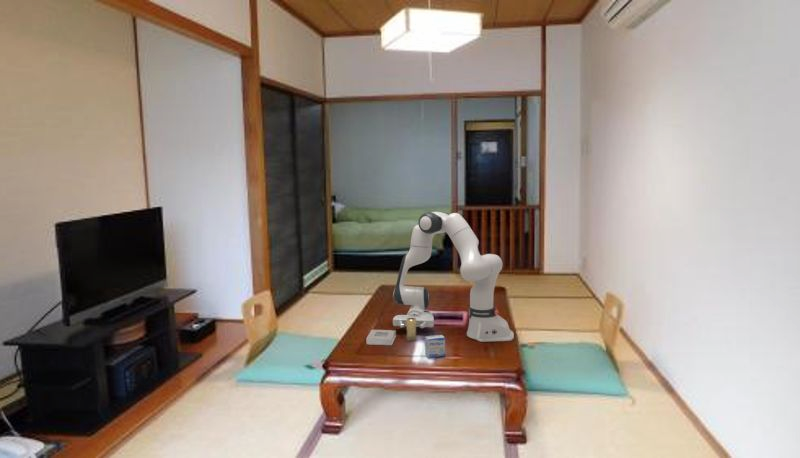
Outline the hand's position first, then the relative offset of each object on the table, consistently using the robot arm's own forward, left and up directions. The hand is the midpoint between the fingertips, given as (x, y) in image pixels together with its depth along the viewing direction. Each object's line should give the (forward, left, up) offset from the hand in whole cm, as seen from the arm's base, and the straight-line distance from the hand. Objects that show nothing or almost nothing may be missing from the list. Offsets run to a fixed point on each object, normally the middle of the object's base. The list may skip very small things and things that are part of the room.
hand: (411, 326), depth 262 cm
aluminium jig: (+14, +4, -6) cm, 16 cm away
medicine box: (-13, +20, -6) cm, 25 cm away
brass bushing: (0, +1, -6) cm, 6 cm away
